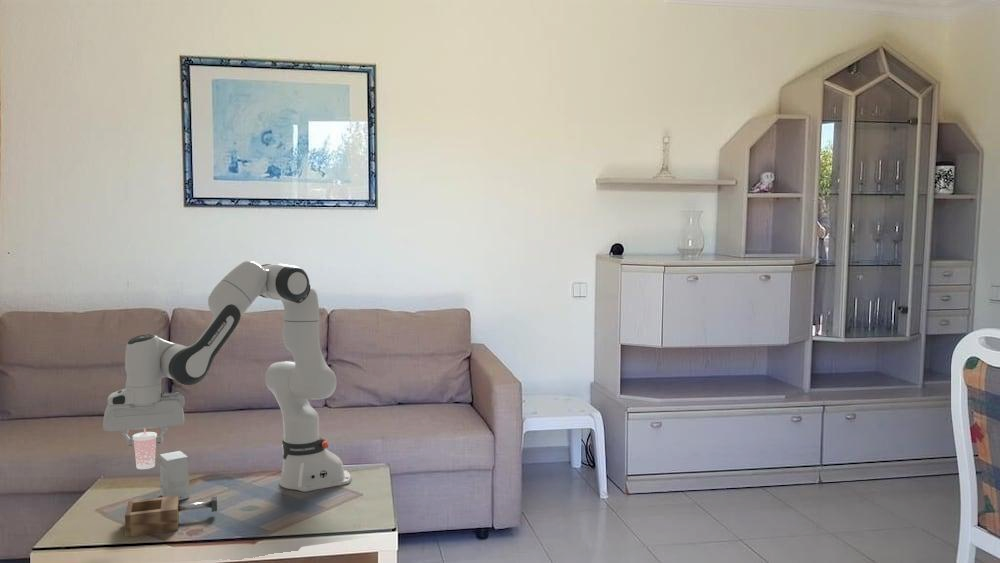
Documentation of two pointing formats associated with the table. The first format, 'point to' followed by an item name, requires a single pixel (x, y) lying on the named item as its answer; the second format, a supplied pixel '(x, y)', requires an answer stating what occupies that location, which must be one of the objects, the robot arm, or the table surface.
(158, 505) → the socket block
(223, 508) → the table surface
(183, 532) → the table surface
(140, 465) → the beverage cup
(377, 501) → the table surface
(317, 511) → the table surface
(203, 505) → the lock pin
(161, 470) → the small box
